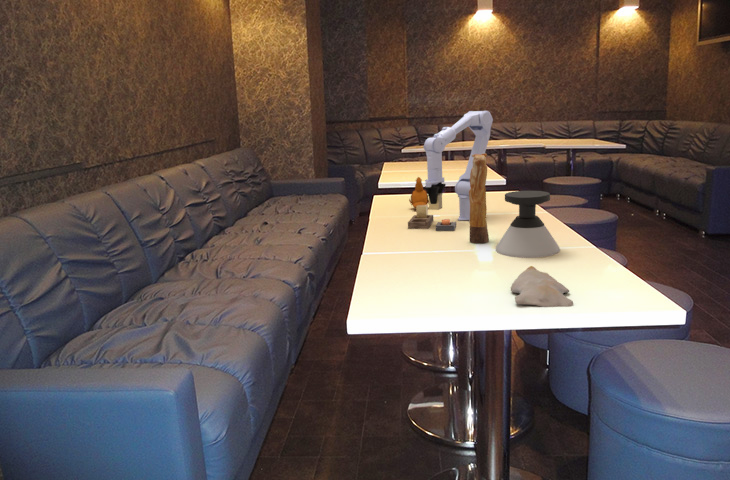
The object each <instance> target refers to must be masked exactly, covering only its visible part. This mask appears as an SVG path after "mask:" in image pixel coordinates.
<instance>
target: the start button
mask: <svg viewBox="0 0 730 480" xmlns="http://www.w3.org/2000/svg"><path fill="white" fill-rule="evenodd" d="M441 222H442V225H450V222H451V220H450V219H449V218H448V219H447V218H444V219H441Z"/></svg>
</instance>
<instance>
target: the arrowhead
mask: <svg viewBox="0 0 730 480" xmlns="http://www.w3.org/2000/svg"><path fill="white" fill-rule="evenodd" d="M510 291H511V292H512V293H514V294H518V295H515V296H514V301H515V303H516V304H517V305H530V306H531V305H532V306H538V307H544V308H554V307H555V308H556V307H558V308H559V307H562V308H563V307H565V308H566V307H567V308H570V307H572V306H573V305H574V302H573V300H572V299H570V298H568V297H567V296H566V295H564V294H567V293H570V290H569V289H568V288H567V287H566V286H565V285H564V284H563V283H561V282H559V281H558V280H556V279H555V278H554V277H552V275H550V274H549V273H548V272H545V271H544V272H543V271H541V270H538V269H537V268H536V267H535V266H533V265H531V266H528V267H527V268H526V269H525V270H523V271H522V272H521V273H520V274H519V275H518V276H517V278H516V279H515V280H514V281H513V282H512V283H511V286H510Z"/></svg>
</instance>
